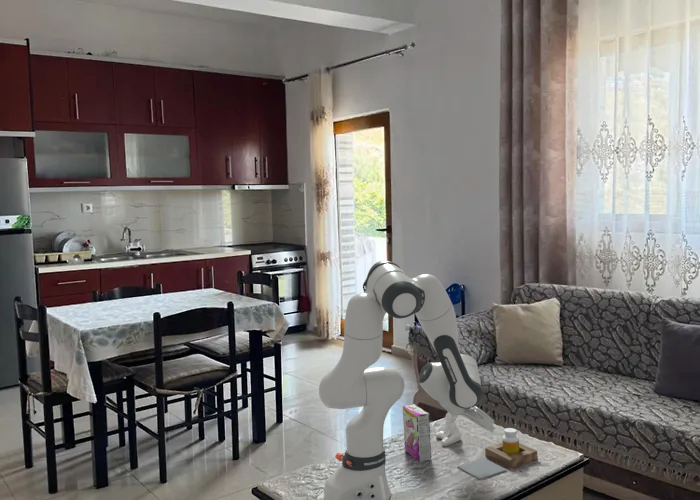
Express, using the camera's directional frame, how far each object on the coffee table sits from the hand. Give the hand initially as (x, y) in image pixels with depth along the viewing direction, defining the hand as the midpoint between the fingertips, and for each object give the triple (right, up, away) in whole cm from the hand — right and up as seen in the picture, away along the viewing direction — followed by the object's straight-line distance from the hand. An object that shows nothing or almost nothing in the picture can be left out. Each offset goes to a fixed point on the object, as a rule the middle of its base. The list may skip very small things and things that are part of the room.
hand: (484, 425), depth 216 cm
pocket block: (+10, -13, +6) cm, 17 cm away
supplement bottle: (+10, -13, +6) cm, 18 cm away
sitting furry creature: (-8, -12, +24) cm, 28 cm away
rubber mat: (-1, -14, -1) cm, 14 cm away
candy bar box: (-20, -14, +12) cm, 27 cm away
